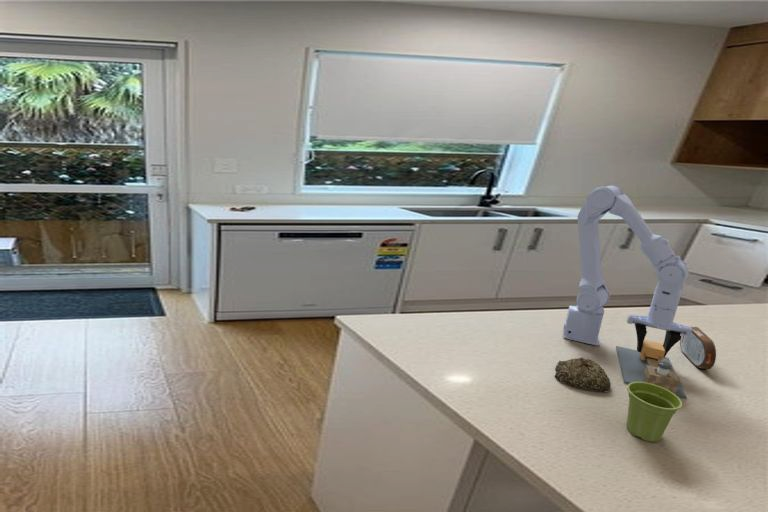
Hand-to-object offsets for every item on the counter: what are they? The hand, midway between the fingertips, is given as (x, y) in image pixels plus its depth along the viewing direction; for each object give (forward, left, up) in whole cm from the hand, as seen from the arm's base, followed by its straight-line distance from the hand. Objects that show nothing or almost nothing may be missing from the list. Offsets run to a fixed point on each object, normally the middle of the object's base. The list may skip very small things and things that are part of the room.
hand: (650, 353), depth 120 cm
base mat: (-1, -6, -2) cm, 7 cm away
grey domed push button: (0, -15, 0) cm, 15 cm away
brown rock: (-17, -19, -3) cm, 26 cm away
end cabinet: (0, -14, -2) cm, 15 cm away
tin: (+12, +8, -3) cm, 15 cm away
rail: (0, -4, -2) cm, 5 cm away
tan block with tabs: (0, 0, -2) cm, 2 cm away
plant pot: (-6, -36, -3) cm, 37 cm away
